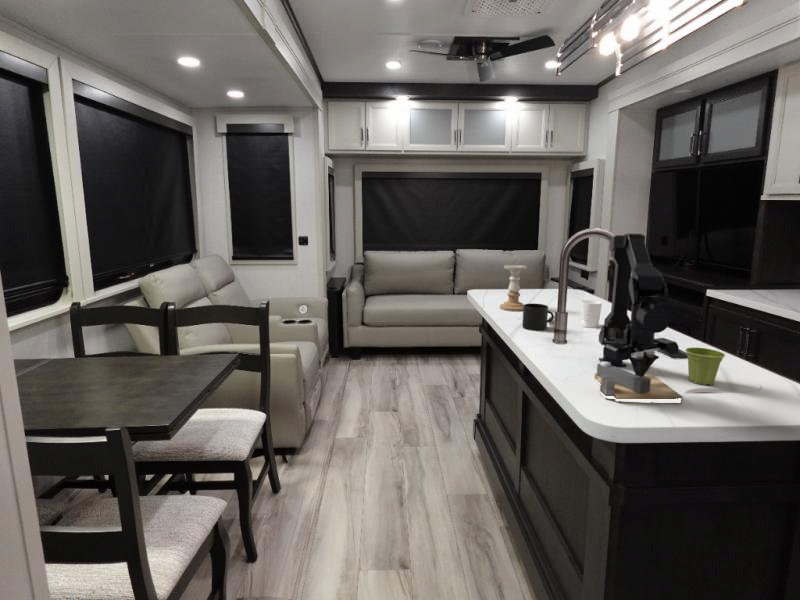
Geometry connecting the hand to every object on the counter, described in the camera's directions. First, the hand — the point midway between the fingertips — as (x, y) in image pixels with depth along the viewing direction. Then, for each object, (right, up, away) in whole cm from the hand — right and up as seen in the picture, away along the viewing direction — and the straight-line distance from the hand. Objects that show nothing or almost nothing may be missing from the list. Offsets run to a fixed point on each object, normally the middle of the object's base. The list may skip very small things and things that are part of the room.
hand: (638, 380), depth 131 cm
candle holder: (-9, +17, +106) cm, 107 cm away
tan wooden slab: (0, -3, +2) cm, 4 cm away
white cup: (+15, +10, +73) cm, 75 cm away
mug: (-7, +10, +69) cm, 70 cm away
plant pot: (+22, -2, +10) cm, 25 cm away
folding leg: (-3, -1, +2) cm, 4 cm away
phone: (+29, +3, +38) cm, 48 cm away
